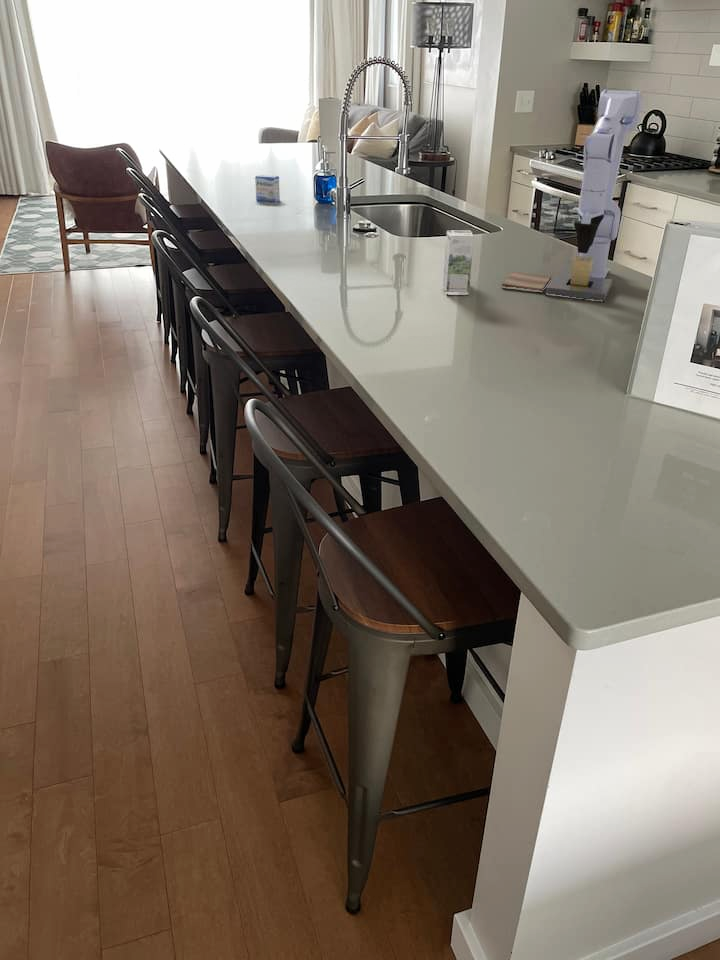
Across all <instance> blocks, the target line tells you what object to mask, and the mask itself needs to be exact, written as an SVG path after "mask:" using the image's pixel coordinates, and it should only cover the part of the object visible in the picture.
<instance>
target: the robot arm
mask: <svg viewBox="0 0 720 960" xmlns="http://www.w3.org/2000/svg"><path fill="white" fill-rule="evenodd" d="M599 96H600V97H599V101H598V107H597V114H598V120H597V122H596V124H595V127H594V129H593V131H592V132H591V133H590V135H587V136H586V138H585V141H584V146H583V162H582V169H583V174H582V181H581V189H580V195H579V201H578V202H579V203H578V207H573V208H572V212H574V213H577V214H578V215H579V217H578V220H574V221H573V226H574V230H575V232H576V240H577V241H576V242H577V253H579V257H589V258H593V262H592V268H591V275H590V277H596V278H604V279H606V277H607V275H608V272H609V270H610V269H609V268H607V263H608V257H609V251H610V245H611V241H614V240H615V239H616V238H617V236H618V232H619V229H620V221H621V214H622V211H621V208H620V206H618V205H617V203H615V202H614V201H613V198H614V194H615V189H616V186H617V185H616V183H617V179H618V175H619V174H618V173H619V170H620V164H621V160H622V155H623V151H624V145H625V143H626V140H627V138H628V135H629V134H630V133H633V132H634V131H636V130H637V127H638V125H639V122H640V121H639V120H640V116H641V112H642V107H643V104H644V103H643V101H644V93H643V91H642V90H637V91H635V90H610V89H609V90H608V89H604V90H603V91H602V92H601V93H600V95H599Z"/></svg>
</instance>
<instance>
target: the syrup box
mask: <svg viewBox="0 0 720 960" xmlns="http://www.w3.org/2000/svg"><path fill="white" fill-rule="evenodd" d="M445 240H446V241H445V252H444V253H445V256H444V268H443V283H442V288H443V287H444V289H445V291H446V292H469V293H470V286H471V285H470V284H471V275H472V264H473V253H474V250H473V249H474V242H475V241H474V240H475V237H474V235H473V232H472V231H471V230H469V229H468V230H467V229H466V230H458V229H457V230H455V229H454V230H449V229H448V230H446V239H445ZM444 289H443V290H444Z"/></svg>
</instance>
